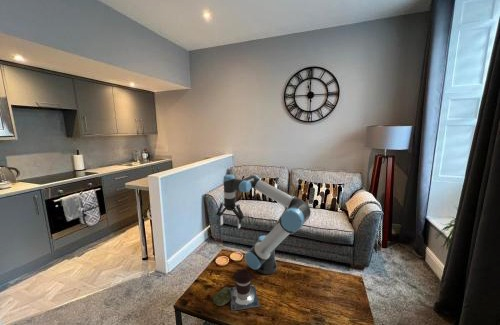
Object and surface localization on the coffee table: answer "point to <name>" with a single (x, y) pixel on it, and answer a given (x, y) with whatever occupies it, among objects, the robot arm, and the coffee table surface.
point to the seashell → (222, 297)
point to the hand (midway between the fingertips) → (230, 226)
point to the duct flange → (244, 304)
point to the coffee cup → (243, 284)
